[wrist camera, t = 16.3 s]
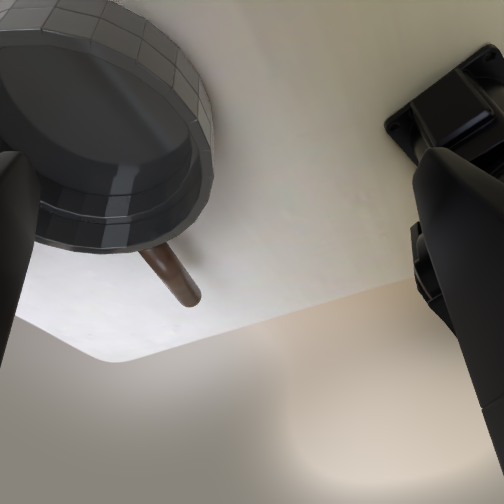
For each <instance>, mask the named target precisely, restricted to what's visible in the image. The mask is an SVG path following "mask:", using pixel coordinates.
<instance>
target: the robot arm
mask: <svg viewBox="0 0 504 504" xmlns="http://www.w3.org/2000/svg"><path fill="white" fill-rule="evenodd" d="M489 53H491V55H490V56H489V57H488V58H486V59H485V56H486V55H487V54H489ZM393 124H396V125H395V126H394V127H391V126H392V125H393ZM384 127H385V130H386V132H387V133H388V134H389V136H390V137H391V138H392V139H393V140H394V141H395V142H396V143H397V144H398V146H399V147H400V148H401V149H402V150H403V151H404V152H405V153H406V154H407V156H408V157H409V158H410V159H411V160H412V161H413V162H414V163H415V164H416V165H417V168H416V171H415V173H414V175H413V180H412V185H413V190H414V195H415V200H416V205H417V210H418V214H419V219H420V222H419V221H418V222H417V223H415V224H414V225H413V226H412V227H411V228H410V230H411V241H412V252H413V263H414V274H415V280H416V284H417V288H418V291H419V292H420V293H421V295H422V296H423V298H424V299H425V301H426V302H427V303H428V306H429V307H430V308H431V309H432V310H433V311H434V312H435V313H436V314H437V315H438V316H439V317H440V318H441V319H442V320H443V321H444V322H445V323H446V325H447V326H448V327H449V328H450V330H451V331H452V332H453V333H454V335H455V336H456V337H457V339H458V341H459V344H460V347H461V350H462V353H463V356H464V359H465V362H466V365H467V368H468V371H469V374H470V377H471V380H472V383H473V386H474V389H475V392H476V395H477V398H478V400H479V404H480V406H481V408H483V409H482V413H483V416H484V419H485V422H486V425H487V428H488V431H489V434H490V437H491V439H492V443H493V446H494V449H495V451H496V454H497V457H498V460H499V463H500V466H501V469H502V472H503V475H504V58H503V56H502V54H501V52H500V50H499V49H498V48H497V47H496V46H495V45H493V44H489V45H486V46H484V47H482V48H481V49H480V50H478V51H477V52H476V53H474V54H473V55H472V56H470V57H469V58H468V59H466V60H465V61H464V62H462V63H461V64H460V65H459V66H457V67H456V68H455V69H453V70H452V71H451V72H449V73H448V74H447V75H445V76H444V77H443V78H441V79H440V80H439V81H437V82H436V83H435V84H433V85H432V86H431V87H429V88H428V89H427V90H425V91H424V92H423V93H421V94H420V95H419V96H417V97H416V98H415V99H413V100H412V101H411V102H409V103H408V104H407V105H405V106H404V107H403V108H401V109H400V110H399V111H398V112H396V113H395V114H394V115H392V116H391V117H390V118H388V119H387V120H386V122H385V124H384ZM40 196H41V184H40V181H39V178H38V176H37V174H36V172H35V170H34V168H33V166H32V164H31V162H30V160H29V158H28V156H27V155H26V154H25V153H24V152H22V151H5V152H2V153H0V367H1V363H2V359H3V356H4V352H5V348H6V345H7V341H8V338H9V334H10V331H11V327H12V323H13V319H14V316H15V312H16V309H17V305H18V302H19V298H20V294H21V291H22V287H23V284H24V280H25V276H26V273H27V269H28V265H29V262H30V258H31V254H32V250H33V245H34V240H35V232H36V225H37V218H38V210H39V203H40Z"/></svg>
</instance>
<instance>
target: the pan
mask: <svg viewBox="0 0 504 504" xmlns="http://www.w3.org/2000/svg"><path fill="white" fill-rule="evenodd" d="M5 151H22V152H24V153H25V154H26V155H27V156H28V158H29V160H30V162H31V164H32V166H33V168H34V170H35V172H36V174H37V176H38V178H39V181H40V184H41V196H40V203H39V210H38V218H37V225H36V232H35V240H34V241H36V242H38V243H42V244H45V245H49V246H53V247H57V248H61V249H65V250H69V251H73V252H82V253H92V254H116V253H131V252H135V251H140V250H144V249H148V248H152V247H155V246H158V245H160V244H162V243H164V242H166V241H168V240H170V239H172V238H174V237H177V235H179V234H181V233H182V232H183V231H184V230H185V229H187V228H188V227H189V226H190V225H191V224H192V223H194V222H195V220H197V218H198V216H199V215H200V213H201V212H202V210H203V208H204V207H205V205H206V204H207V202H208V200H209V196H210V192H211V188H212V183H213V179H214V133H213V121H212V111H211V104H210V101H209V99H208V96H207V94H206V91H205V89H204V86H203V84H202V81H201V79H200V76H199V75H198V73H197V72H196V70H195V69H194V68H193V66H192V65H191V64H190V62H189V61H188V59H187V58H186V57H185V55H184V54H183V53H182V51H181V50H180V49H179V47H178V46H177V45H176V44H175V43H174V42H172V41H171V40H170V39H169V38H168V37H167V36H165V35H164V34H163V33H162V32H161V31H159V30H158V29H157V28H156V27H155V26H154V25H152V24H151V23H150V22H149V21H148V20H146V19H144V18H143V17H141V16H139V15H137V14H135V13H133V12H131V11H129V10H127V9H125V8H123V7H121V6H119V5H117V4H115V3H114V2H112V1H110V0H0V153H2V152H5Z"/></svg>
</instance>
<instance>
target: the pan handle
mask: <svg viewBox="0 0 504 504" xmlns="http://www.w3.org/2000/svg"><path fill="white" fill-rule="evenodd" d="M138 252H139V253H140V254H141V256H142V257H143V258H144V259H145V261H146V262H147V263H148V264H149V265H150V267H151V268H152V269H153V270H154V272H155V273H156V274H157V275H158V276H159V278H160V279H161V280H162V281H163V283H164V284H165V285H166V286H167V287H168V289H169V290H170V291H171V292H172V293H173V295H174V296H175V297H176V298H177V300H178V301H179V302H180V303H181V304H182V305H183V306H185V307H194V306H196V305H197V304H198V303H199V302H200V300H201V291H200V289H199V288H198V286H197V285H196V283H195V282H194V280H193V279H192V278H191V276H190V275H189V273H188V272H187V271H186V269H185V268H184V266H183V265H182V264H181V262H180V261H179V259H178V258H177V256H176V255H175V254H174V252H173V251H172V249H171V248H170V247H169V245H168V244H167V242H164V243H162V244H160V245H158V246H155V247H152V248H148V249H144V250H140V251H138Z"/></svg>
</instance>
